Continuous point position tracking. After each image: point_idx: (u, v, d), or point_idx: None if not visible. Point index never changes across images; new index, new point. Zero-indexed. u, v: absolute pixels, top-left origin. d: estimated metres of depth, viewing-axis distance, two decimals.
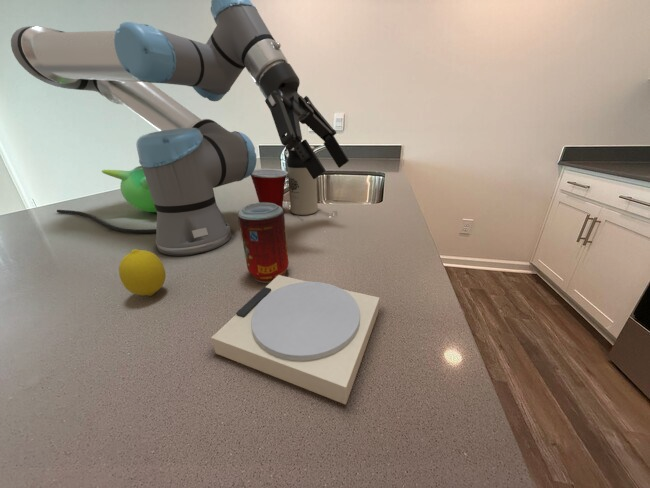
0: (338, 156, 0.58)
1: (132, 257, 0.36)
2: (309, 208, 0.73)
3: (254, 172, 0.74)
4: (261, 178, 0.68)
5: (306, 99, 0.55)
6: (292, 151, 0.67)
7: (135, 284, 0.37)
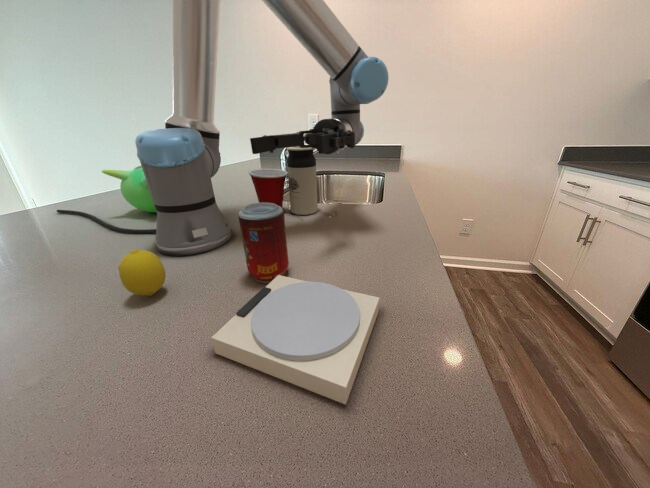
0: (261, 145, 0.49)
1: (132, 257, 0.36)
2: (309, 208, 0.73)
3: (254, 172, 0.74)
4: (261, 179, 0.68)
5: None
6: (292, 151, 0.67)
7: (135, 285, 0.37)
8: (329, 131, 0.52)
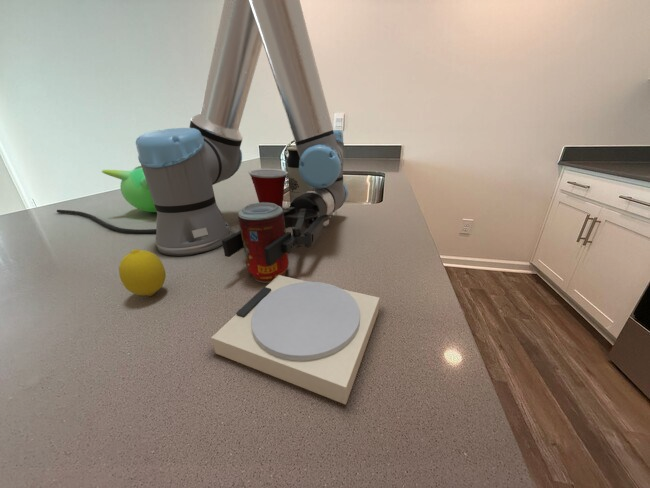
0: (236, 244, 0.41)
1: (132, 257, 0.36)
2: None
3: (254, 172, 0.74)
4: (261, 179, 0.68)
5: None
6: (292, 151, 0.67)
7: (135, 285, 0.37)
8: (299, 217, 0.48)
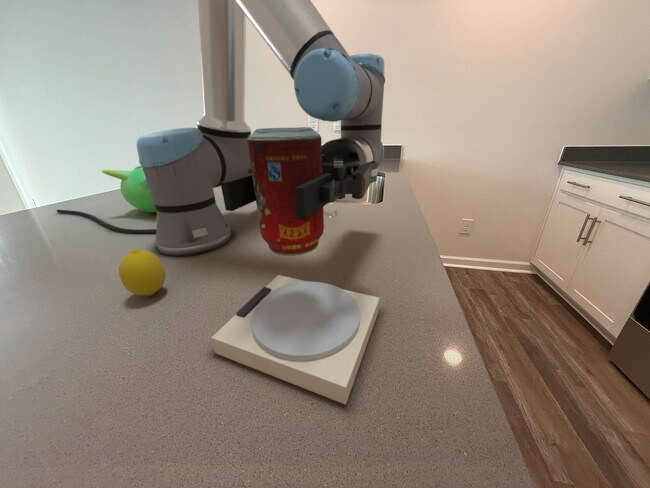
0: (244, 192, 0.26)
1: (132, 257, 0.36)
2: None
3: None
4: None
5: None
6: None
7: (135, 285, 0.37)
8: (336, 163, 0.32)
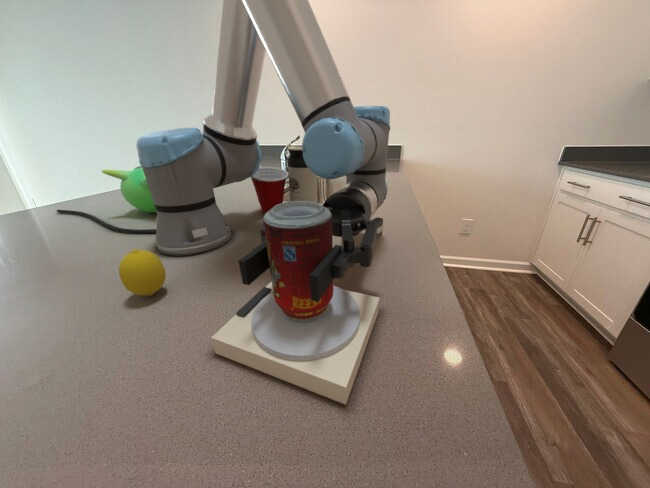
0: (259, 264, 0.27)
1: (132, 257, 0.36)
2: None
3: None
4: (260, 181, 0.68)
5: None
6: (293, 151, 0.67)
7: (135, 285, 0.37)
8: (344, 222, 0.34)
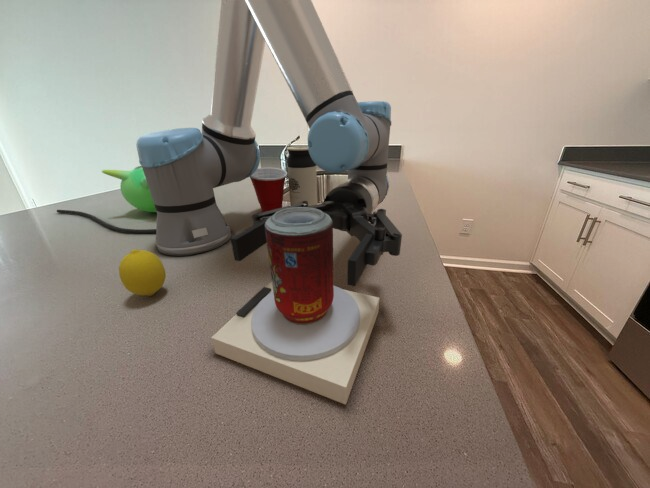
0: (250, 243, 0.30)
1: (132, 257, 0.36)
2: None
3: None
4: (259, 181, 0.68)
5: None
6: (293, 151, 0.67)
7: (135, 285, 0.37)
8: (354, 215, 0.34)
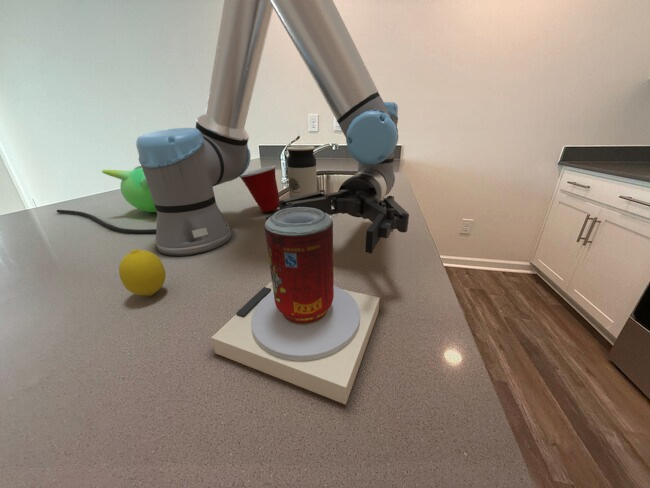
0: None
1: (132, 257, 0.36)
2: None
3: (245, 175, 0.76)
4: (249, 177, 0.69)
5: None
6: (293, 151, 0.67)
7: (135, 285, 0.37)
8: (367, 200, 0.40)
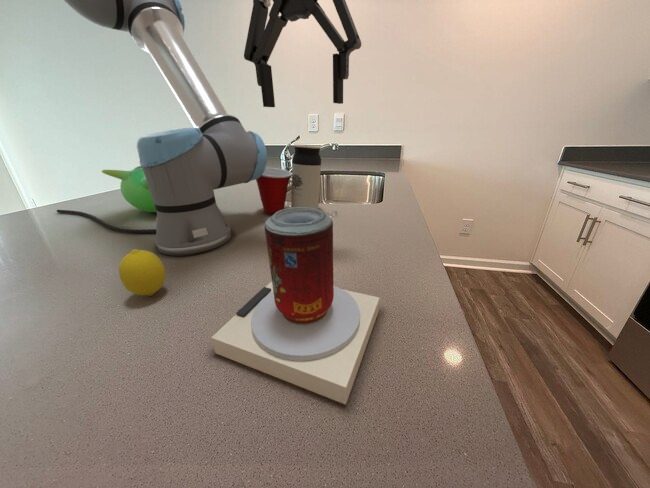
0: None
1: (132, 257, 0.36)
2: (310, 207, 0.73)
3: None
4: (268, 178, 0.68)
5: None
6: (299, 148, 0.67)
7: (135, 285, 0.37)
8: None
